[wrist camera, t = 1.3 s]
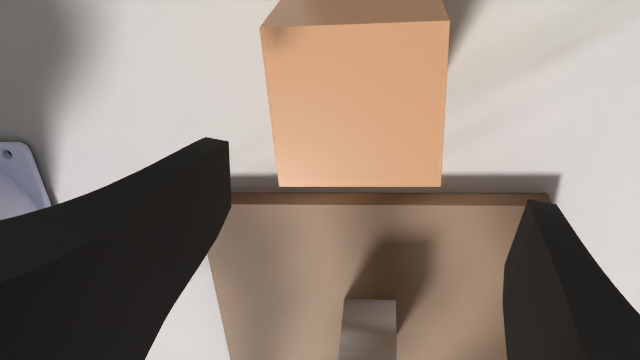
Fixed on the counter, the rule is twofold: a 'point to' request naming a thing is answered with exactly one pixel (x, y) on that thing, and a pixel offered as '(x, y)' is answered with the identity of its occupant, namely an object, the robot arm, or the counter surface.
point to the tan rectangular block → (357, 91)
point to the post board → (365, 275)
